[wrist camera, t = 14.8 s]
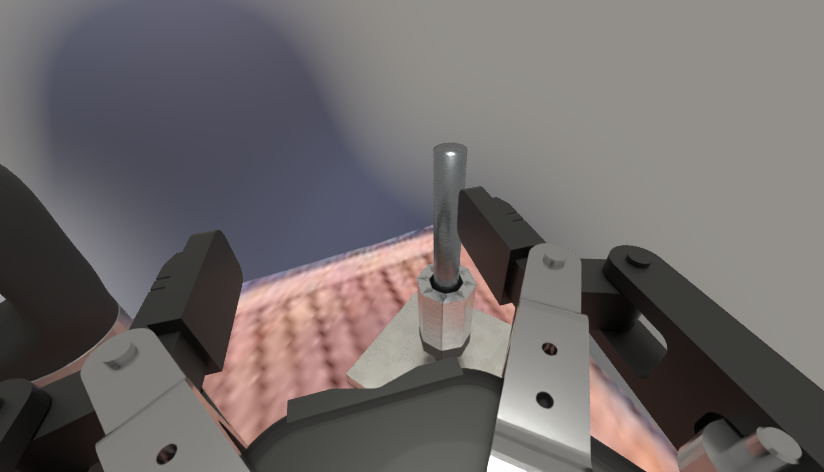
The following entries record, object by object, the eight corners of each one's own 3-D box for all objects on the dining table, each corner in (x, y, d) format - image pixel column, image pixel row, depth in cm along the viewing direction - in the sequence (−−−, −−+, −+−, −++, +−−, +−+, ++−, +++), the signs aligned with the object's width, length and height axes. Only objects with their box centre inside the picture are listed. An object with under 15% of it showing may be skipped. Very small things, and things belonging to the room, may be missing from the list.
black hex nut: (411, 344, 39) (411, 334, 38) (435, 312, 43) (435, 302, 42) (454, 368, 36) (454, 358, 35) (475, 331, 40) (476, 321, 39)
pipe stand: (348, 382, 41) (280, 169, 23) (422, 293, 53) (416, 105, 35) (476, 473, 33) (530, 252, 15) (531, 343, 45) (598, 131, 26)
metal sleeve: (411, 334, 38) (407, 287, 33) (435, 302, 42) (436, 256, 37) (454, 358, 35) (458, 311, 30) (476, 321, 39) (483, 274, 34)
